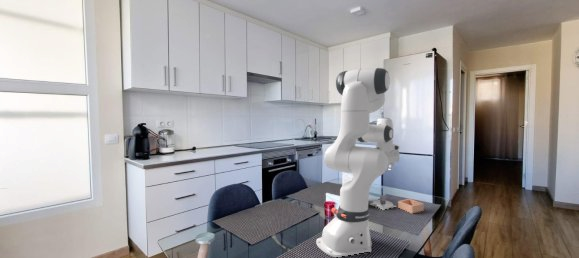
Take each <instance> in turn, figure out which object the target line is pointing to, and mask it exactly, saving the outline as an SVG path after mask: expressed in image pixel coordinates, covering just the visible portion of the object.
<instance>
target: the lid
mask: <svg viewBox="0 0 579 258" xmlns="http://www.w3.org/2000/svg"><path fill="white" fill-rule="evenodd" d="M372 203H373V205H374V206H376V207H375V208H377V207H379V208H391V209H393V208H392V207H393V205H394V203H393V201H389V200H387V196H386V195H382V194H381V195H380V196H379V199H375V200H373V201H372ZM374 206H373V207H374ZM379 208H378V209H379Z"/></svg>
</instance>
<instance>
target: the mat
mask: <svg viewBox="0 0 579 258" xmlns="http://www.w3.org/2000/svg"><path fill="white" fill-rule="evenodd" d="M369 205H370V206H373V207H374V205H373V202H370V203H369ZM393 207H396V208H397V205H394V204H393ZM393 207H392V208H391V209H394V208H393ZM374 208H377V207H376V206H375V207H374ZM377 209H379V207H378V208H377ZM381 209H382V210H381ZM385 209H387V210H390V209H389V208H380V210H381V211H386V210H385Z"/></svg>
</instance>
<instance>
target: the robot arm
mask: <svg viewBox="0 0 579 258" xmlns="http://www.w3.org/2000/svg"><path fill="white" fill-rule="evenodd" d="M390 84H391V78H390V74H389V71H388V70H386V68H383V67H380V68H379V67H377V68H358V69H357V68H355V69H350V70H344V71H341V72H339V74H338V75H337V76H336V79H335V87H336V88H335V89H336V90H337V92H338V94H340V96H341V100H340V102H341V103H340V123H339V124H340V126H339V132H338V135H337V138H336V139H335V141H334V142H333V143H332V144H331V145H329V147H328V148H327V149H326V150H325V152H324V156H323V160H324V163H325V164H324V165H325V166H326V167H327V168H328V169H330V170H333V171H336V172H340V173H341V172H346V173H352V174H353V180H352V181H349V182H347V183H345V184H343V185H341V187H340V189H339V206H338V208H336V207H332V208H331V213H332V214H335V217H333V218H332V219H331V220H330V221H329V222H328V223H327V224H326V225H325V226H324V228H323V230H322V232H321V233H322V234H321V236H320V237H318V238H317V239H316V241H315V244H316V245H317V247H318V248H319V249H320V250H321V251H322V252H324V253H325V254H326V255H328V256H330V257H333V258H336V257H338V258H343V257H342V256H345V257H349V256H348V255H351V256H355V255H354V254H357V255H360V254H359V253H364V252H370V253H371V252H372V246H373V242H372V238H371V234H370V226H369V219H370V208H369V196H370V195H369V194H370V189H371V186H372V185H373V183H374V182H375V180H377V179H378V178H379V177H380V176H382V175H384V174H385V173H386V171H390V172H391V171H393V167H394V165H395V163H398V162H399V161H400V145H397V144H394V143H393V141H394V140H393V138H394V128H393V127H394V126H393V120H392V119H391V118H389V117H379V118H377V119H376V124H371V123H370V114H372V113H375V112H377V111H379V110H380V109H382V107H383V106H384V104H385V100H386V98H385V96H386V95H385V93H386V92H387V91H388V90H389V87H390ZM357 141H358V142H360V143H374V144H375V147H371V146H357V145H356V142H357ZM364 254H365V253H364Z"/></svg>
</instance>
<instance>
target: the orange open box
mask: <svg viewBox="0 0 579 258" xmlns="http://www.w3.org/2000/svg"><path fill="white" fill-rule="evenodd" d="M398 208H400V209H399V210H401V209H402V210H401V211H403V210H405V211H404V212H406V211H407V212H406V213H408V212H409V214H411V215H413V213H414V214H418V213H422V212H425V203H423V202H420V201H417V200H414V199H412V198H406V199H402V200H398V201H397V209H398ZM421 211H422V212H421Z"/></svg>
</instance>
